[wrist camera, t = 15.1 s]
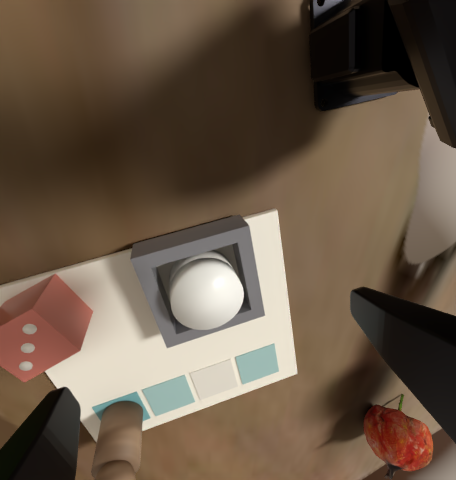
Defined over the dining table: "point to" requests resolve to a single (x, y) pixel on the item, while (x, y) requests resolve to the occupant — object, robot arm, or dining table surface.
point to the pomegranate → (398, 439)
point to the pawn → (119, 442)
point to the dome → (204, 290)
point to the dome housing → (188, 245)
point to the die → (41, 327)
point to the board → (153, 346)
